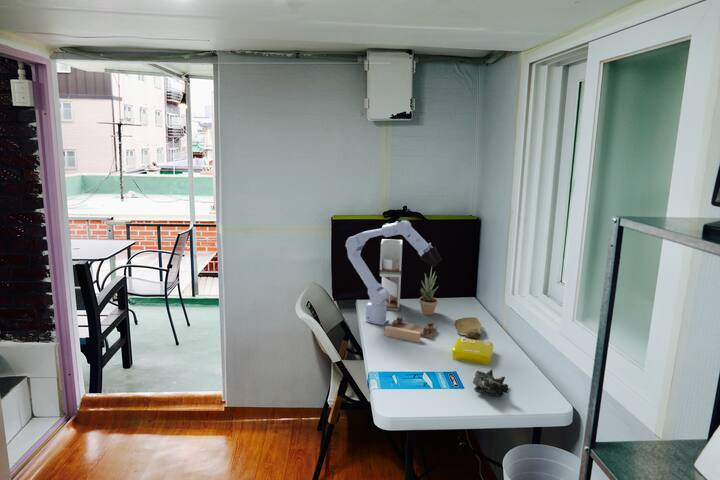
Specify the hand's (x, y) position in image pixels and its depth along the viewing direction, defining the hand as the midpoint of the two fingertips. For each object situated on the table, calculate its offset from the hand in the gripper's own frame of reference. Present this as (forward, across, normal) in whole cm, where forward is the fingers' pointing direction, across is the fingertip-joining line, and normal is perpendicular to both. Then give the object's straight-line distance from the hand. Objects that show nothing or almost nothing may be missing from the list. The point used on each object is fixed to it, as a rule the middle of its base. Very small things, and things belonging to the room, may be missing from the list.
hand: (438, 263), depth 223 cm
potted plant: (+14, +23, +31) cm, 41 cm away
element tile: (+38, -18, +11) cm, 43 cm away
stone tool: (+32, +8, +16) cm, 37 cm away
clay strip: (+13, -14, +32) cm, 37 cm away
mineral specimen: (+46, -46, +3) cm, 65 cm away
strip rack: (+14, -4, +30) cm, 34 cm away
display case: (-2, +23, +45) cm, 50 cm away
